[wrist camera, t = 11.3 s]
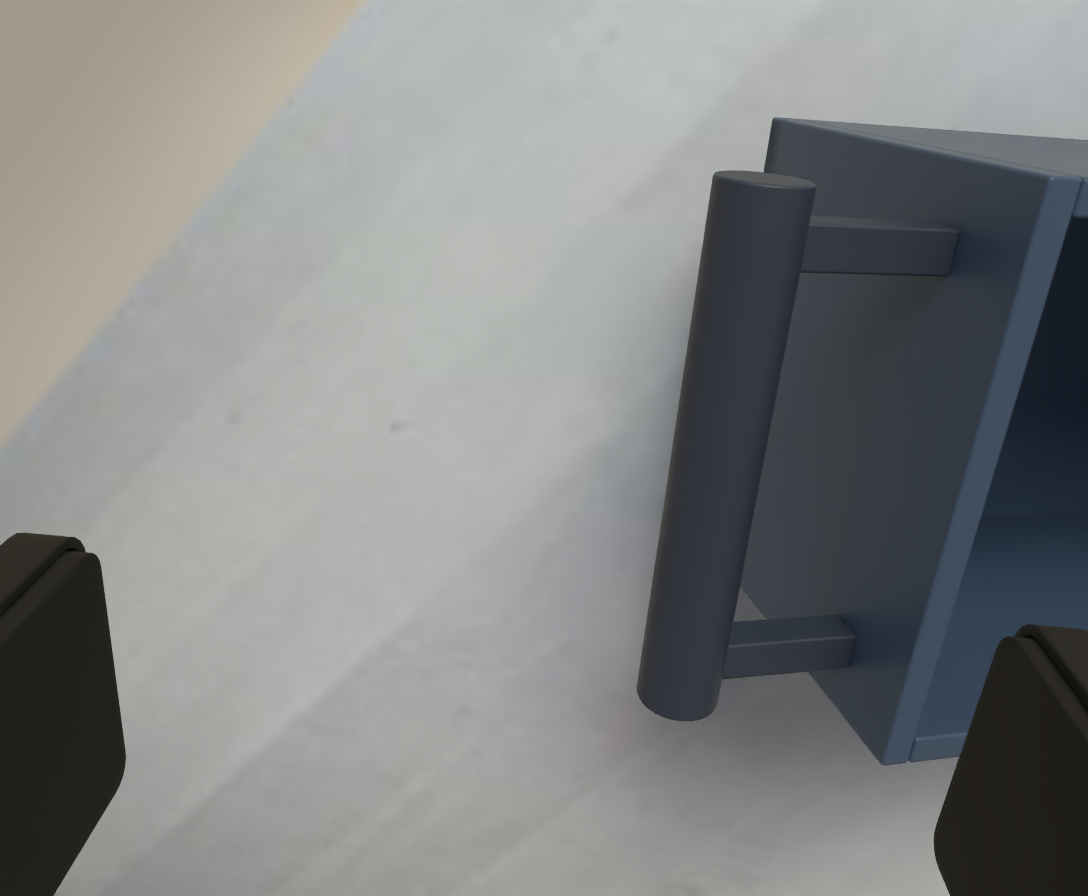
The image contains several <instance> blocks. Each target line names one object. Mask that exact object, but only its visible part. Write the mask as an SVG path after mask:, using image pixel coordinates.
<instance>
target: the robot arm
mask: <svg viewBox="0 0 1088 896" xmlns="http://www.w3.org/2000/svg"><path fill="white" fill-rule="evenodd" d="M125 761H126V754H125V744H124V737H123V729H122V722H121V714H120V706H119V699H118V691H117V684H116V676H115V669H114V661H113V653H112V646H111V638H110V631H109V623H108V615H107V608H106V600H105V593H104V585H103V578H102V570H101V565H100V561H99V559H98V557H97V556H96V555H95V554H93V553H86V552H85V548H84V546H83V544H82V543H81V541H80V540H78V539H77V538H75V537H65V536H54V535H43V534H32V533H16V534H15V535H13V536H11V537H10V538H8V539H7V540H6V541H5V542H4V543H3V544H2V545H1V546H0V896H53V895H54V894H55V892H56V890H57V889H58V887H59V885H60V884H61V882H62V880H63V879H64V877H65V876H66V874H67V872H68V871H69V869H70V867H71V866H72V864H73V862H74V861H75V859H76V857H77V856H78V854H79V853H80V851H81V849H82V848H83V846H84V844H85V843H86V841H87V839H88V838H89V836H90V834H91V833H92V831H93V829H94V828H95V826H96V825H97V823H98V821H99V820H100V818H101V816H102V815H103V813H104V811H105V810H106V808H107V806H108V805H109V803H110V802H111V800H112V798H113V797H114V795H115V793H116V791H117V789H118V787H119V785H120V783H121V780H122V777H123V773H124V769H125ZM934 851H935V857H936V861H937V864H938V868H939V870H940V872H941V875H942V877H943V880H944V882H945V884H946V887H947V889H948V892H949V894H950V896H1088V631H1087V630H1083V629H1078V628H1067V627H1056V626H1045V625H1034V624H1027V625H1024V626H1022V627H1021V628H1020V629H1019V630H1018V631H1017V632H1016V634H1015V636H1014V637H1011V636H1007V637H1004V638H1003V639H1002V640H1001V641H1000V642H999V644H998V646H997V648H996V651H995V654H994V657H993V660H992V663H991V666H990V669H989V672H988V675H987V678H986V680H985V683H984V686H983V689H982V692H981V695H980V698H979V701H978V704H977V707H976V710H975V713H974V716H973V719H972V722H971V725H970V728H969V730H968V733H967V736H966V739H965V742H964V745H963V748H962V751H961V754H960V757H959V760H958V763H957V766H956V769H955V772H954V775H953V777H952V780H951V783H950V786H949V789H948V792H947V795H946V798H945V801H944V804H943V807H942V810H941V813H940V816H939V819H938V822H937V825H936V828H935V833H934Z"/></svg>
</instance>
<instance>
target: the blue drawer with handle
mask: <svg viewBox="0 0 1088 896" xmlns="http://www.w3.org/2000/svg"><path fill="white" fill-rule="evenodd" d="M740 586H741V588H742V589H743V590H744V591H745V593H746V594H747V595H748V596H749V598H750V599H751V600H752V601H753V603H754V604H755V605H756V607H757V608H758V609H759V610H760V612H761V613H762V614H763V615H764V617H765V618H766V619H767V620H756V621H743V622H733V619H734V614H735V608H736V603H737V598H738V593H739V588H740ZM1027 624H1034V625H1045V626H1056V627H1067V628H1078V629H1083V630H1087V631H1088V140H1075V139H1062V138H1048V137H1034V136H1021V135H1007V134H994V133H980V132H966V131H953V130H939V129H926V128H912V127H899V126H885V125H871V124H858V123H844V122H831V121H817V120H803V119H790V118H776V117H775V118H773V120H772V126H771V132H770V138H769V144H768V149H767V155H766V161H765V167H764V173H763V172H752V171H719V172H716V173H714V175H713V180H712V186H711V193H710V200H709V207H708V213H707V220H706V227H705V233H704V240H703V247H702V253H701V260H700V267H699V274H698V280H697V287H696V294H695V300H694V307H693V314H692V320H691V327H690V334H689V341H688V347H687V354H686V361H685V367H684V374H683V381H682V387H681V394H680V401H679V408H678V414H677V421H676V428H675V434H674V441H673V448H672V455H671V461H670V468H669V475H668V481H667V488H666V495H665V501H664V508H663V515H662V522H661V528H660V535H659V542H658V548H657V555H656V562H655V568H654V575H653V582H652V589H651V595H650V602H649V609H648V615H647V622H646V629H645V635H644V642H643V649H642V656H641V662H640V669H639V676H638V682H637V693H638V696H639V698H640V700H641V702H642V703H643V704H644V705H645V706H646V707H647V708H648V709H649V710H651V711H652V712H654V713H656V714H658V715H660V716H662V717H665V718H668V719H672V720H677V721H695V720H699V719H702V718H705V717H707V716H708V715H710V714H711V713H712V712H713V711H714V709H715V708H716V706H717V702H718V697H719V692H720V686H721V681H722V679H729V678H741V677H752V676H763V675H774V674H785V673H797V672H809V674H810V675H811V676H812V677H813V679H814V680H815V681H816V682H817V684H818V685H819V686H820V688H821V689H822V690H823V691H824V693H825V694H826V695H827V696H828V698H829V699H830V700H831V701H832V703H833V704H834V705H835V706H836V708H837V709H838V710H839V712H840V713H841V714H842V715H843V717H844V718H845V719H846V720H847V722H848V723H849V724H850V725H851V727H852V728H853V729H854V731H855V732H856V733H857V734H858V736H859V737H860V738H861V739H862V741H863V742H864V743H865V744H866V746H867V747H868V748H869V750H870V751H871V752H872V753H873V755H874V756H875V757H876V758H877V760H878V761H879V762H880V763H881V764H882V765H891V764H900V763H906V762H907V761H909V762H917V761H925V760H934V759H942V758H950V757H959V756H960V754H961V751H962V748H963V745H964V742H965V739H966V736H967V733H968V730H969V728H970V725H971V722H972V719H973V716H974V713H975V710H976V707H977V704H978V701H979V698H980V695H981V692H982V689H983V686H984V683H985V680H986V678H987V675H988V672H989V669H990V666H991V663H992V660H993V657H994V654H995V651H996V648H997V646H998V644H999V642H1000V641H1001V640H1002V639H1003V638H1004V637H1007V636H1011V637H1014V636H1015V634H1016V632H1017V631H1018V630H1019V629H1020V628H1021V627H1022V626H1024V625H1027Z"/></svg>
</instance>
